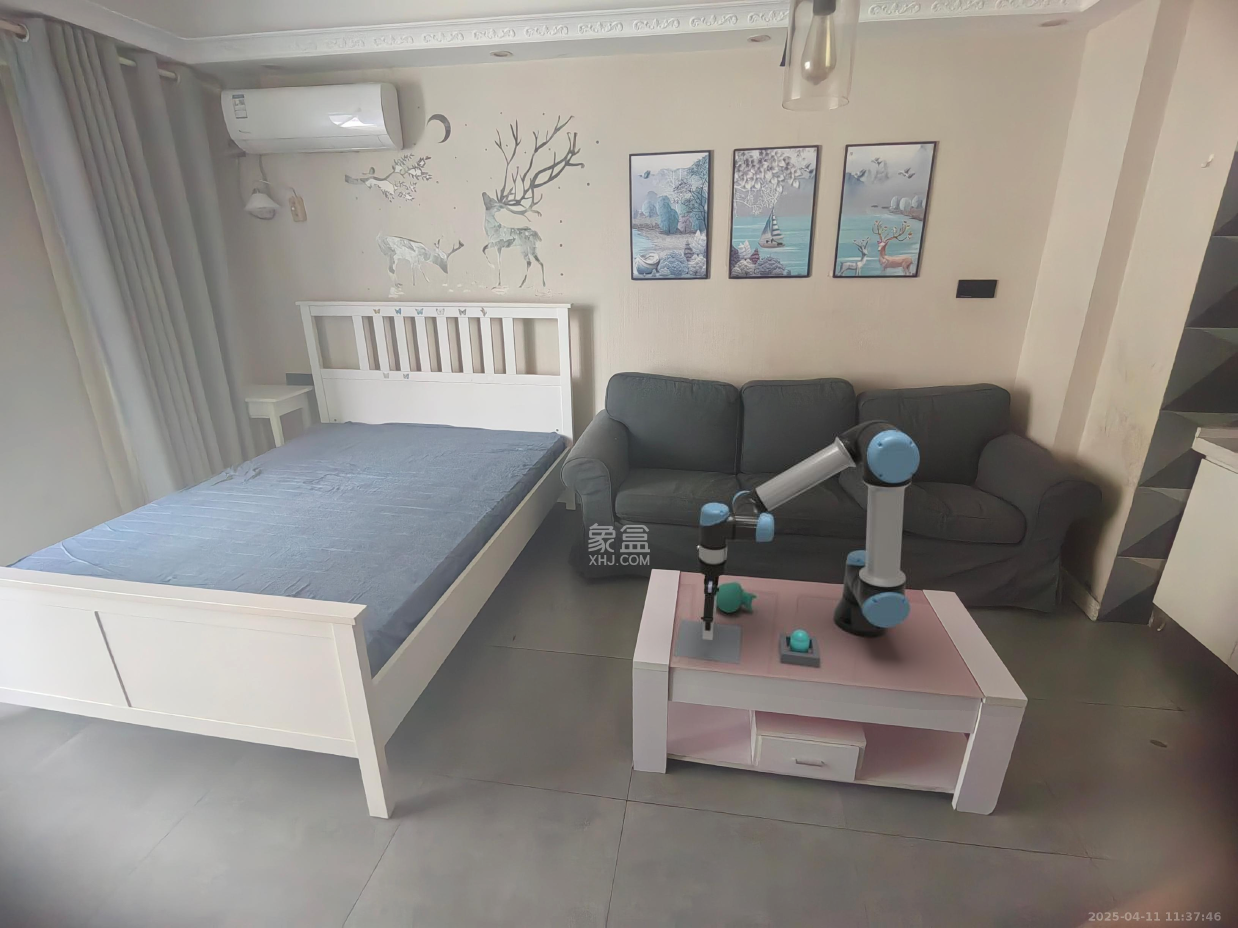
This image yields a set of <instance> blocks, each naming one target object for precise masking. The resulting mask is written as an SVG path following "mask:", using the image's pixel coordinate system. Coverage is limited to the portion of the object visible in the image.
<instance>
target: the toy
mask: <svg viewBox="0 0 1238 928" xmlns="http://www.w3.org/2000/svg"><path fill="white" fill-rule="evenodd" d="M717 588H719V592H717V599H716V607H718V608H719V609H720V610H721V611H722V612H725V613H729V614H730V613H734V612H736V611H738V610H739V608H741V606H744V607H745V608H746V609H748V610H749V611H750V612H753V610H754V608H753V607H752V603H753V599H756V598H757V595H755V594H753V593H750V592H746V591H745V589H743V587H742V585H741V583H740V582H738V581H730V582H724V583H721V584H719V585H718V586H717Z"/></svg>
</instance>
